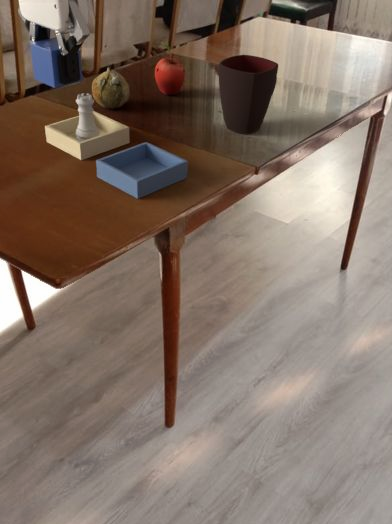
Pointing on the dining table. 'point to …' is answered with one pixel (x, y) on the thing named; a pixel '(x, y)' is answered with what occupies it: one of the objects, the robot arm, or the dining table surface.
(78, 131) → the rook chess piece
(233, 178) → the dining table surface
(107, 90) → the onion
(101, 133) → the ivory tray
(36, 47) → the blue block
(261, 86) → the cup
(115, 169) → the blue tray
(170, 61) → the apple
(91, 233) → the dining table surface
